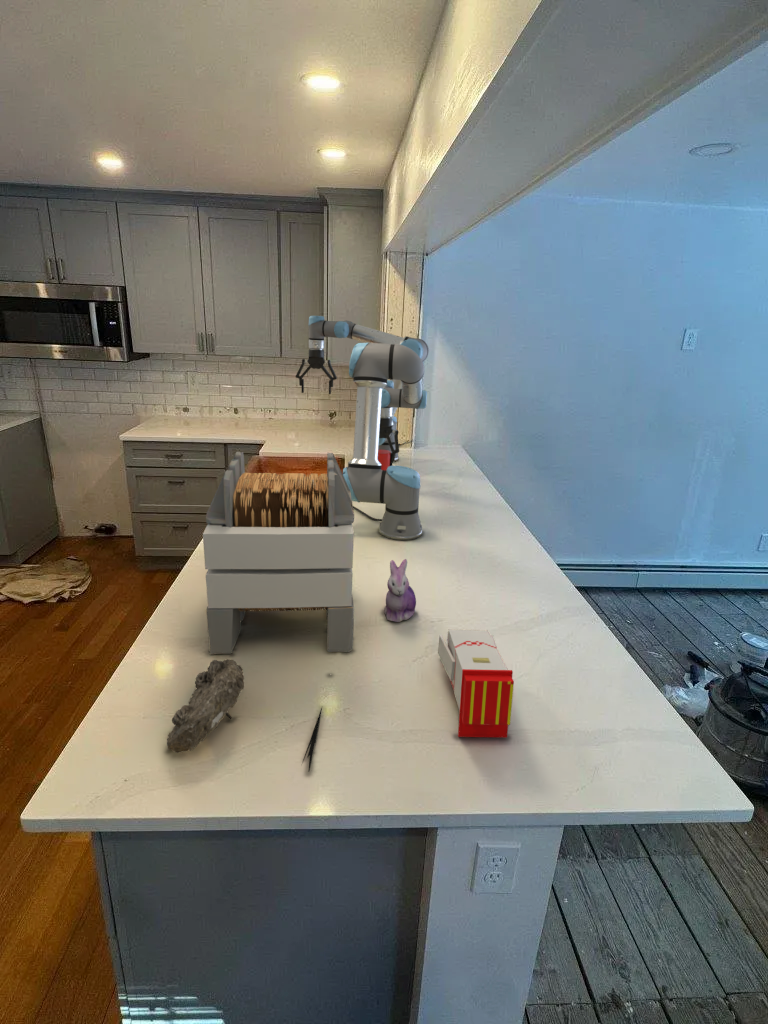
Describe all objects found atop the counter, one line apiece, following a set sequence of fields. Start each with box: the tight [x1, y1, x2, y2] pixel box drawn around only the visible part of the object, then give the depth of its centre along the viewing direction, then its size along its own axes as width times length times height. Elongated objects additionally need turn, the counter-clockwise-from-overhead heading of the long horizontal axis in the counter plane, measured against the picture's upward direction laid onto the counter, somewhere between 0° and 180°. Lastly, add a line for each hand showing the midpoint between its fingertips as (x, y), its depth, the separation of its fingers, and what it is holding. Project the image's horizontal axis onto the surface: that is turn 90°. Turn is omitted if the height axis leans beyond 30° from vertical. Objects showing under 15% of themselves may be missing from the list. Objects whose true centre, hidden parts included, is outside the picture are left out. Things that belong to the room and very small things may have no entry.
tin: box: [378, 450, 391, 470], centre depth 251 cm, size 8×8×11 cm
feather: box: [301, 673, 332, 771], centre depth 108 cm, size 2×28×2 cm
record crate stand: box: [202, 451, 355, 655], centre depth 137 cm, size 34×33×41 cm
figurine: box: [384, 558, 417, 623], centre depth 145 cm, size 9×10×15 cm
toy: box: [437, 628, 515, 738], centre depth 117 cm, size 12×13×30 cm
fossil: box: [166, 658, 245, 754], centre depth 106 cm, size 22×10×15 cm
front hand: (381, 467), depth 252 cm, fingers closed on tin, 8 cm apart
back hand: (316, 393), depth 284 cm, fingers open, 13 cm apart
